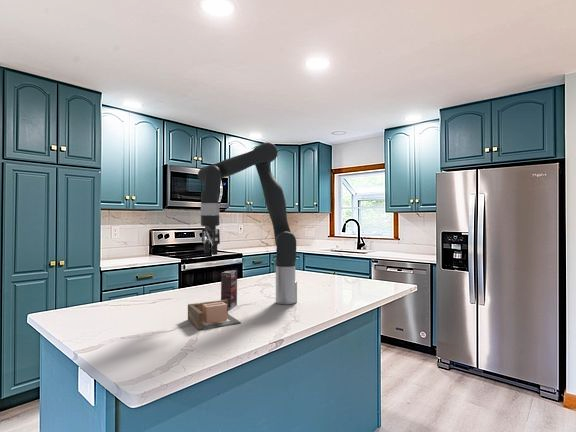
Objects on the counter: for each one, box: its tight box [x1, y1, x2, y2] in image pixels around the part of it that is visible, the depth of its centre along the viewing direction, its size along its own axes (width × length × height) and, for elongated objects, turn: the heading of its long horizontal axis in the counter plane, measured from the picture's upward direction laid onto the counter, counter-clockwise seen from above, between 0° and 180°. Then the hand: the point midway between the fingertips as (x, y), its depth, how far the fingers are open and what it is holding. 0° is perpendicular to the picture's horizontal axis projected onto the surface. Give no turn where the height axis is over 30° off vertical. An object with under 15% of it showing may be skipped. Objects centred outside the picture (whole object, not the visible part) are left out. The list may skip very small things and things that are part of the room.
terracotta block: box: [203, 302, 227, 323], centre depth 136 cm, size 5×8×6 cm, turn 121°
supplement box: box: [220, 269, 238, 311], centre depth 159 cm, size 9×5×16 cm, turn 168°
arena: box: [187, 299, 242, 331], centre depth 137 cm, size 16×15×6 cm
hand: (210, 253), depth 147 cm, fingers open, 8 cm apart
